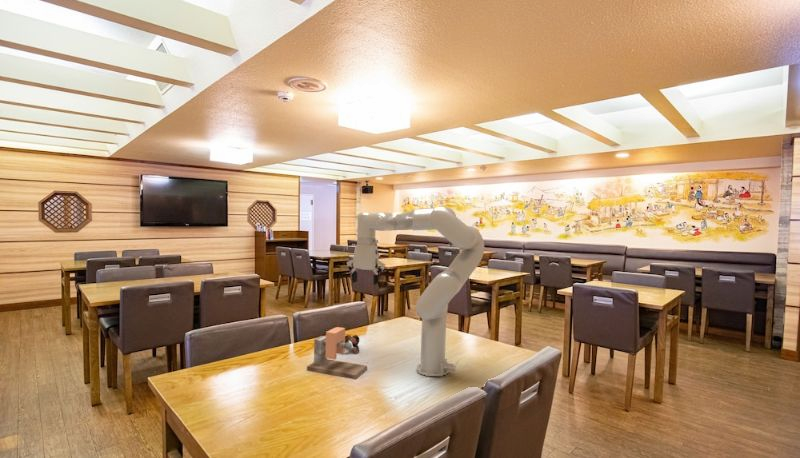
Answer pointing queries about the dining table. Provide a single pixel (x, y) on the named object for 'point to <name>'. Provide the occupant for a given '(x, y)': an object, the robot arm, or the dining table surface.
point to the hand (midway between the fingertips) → (365, 283)
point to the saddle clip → (334, 342)
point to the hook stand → (333, 361)
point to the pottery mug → (353, 342)
